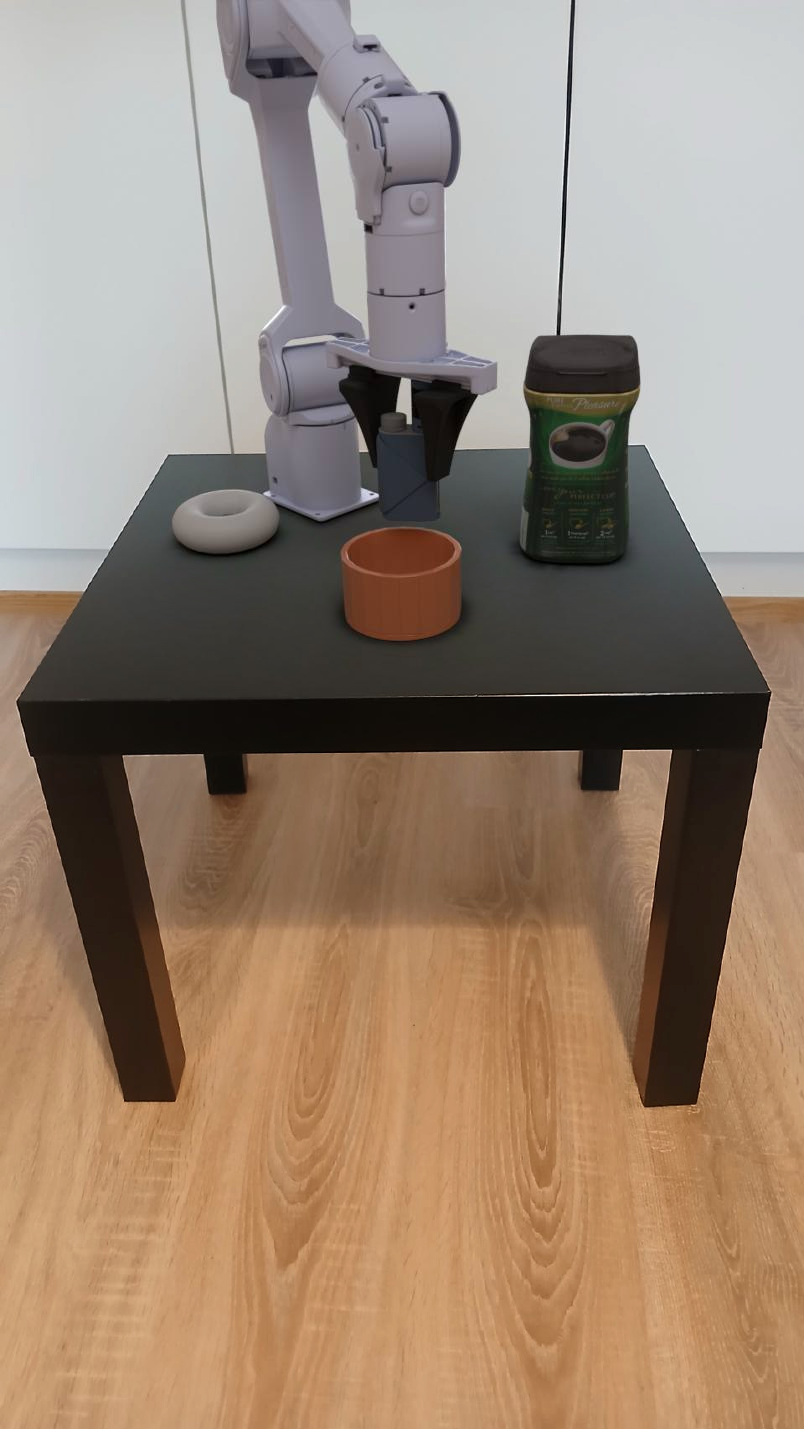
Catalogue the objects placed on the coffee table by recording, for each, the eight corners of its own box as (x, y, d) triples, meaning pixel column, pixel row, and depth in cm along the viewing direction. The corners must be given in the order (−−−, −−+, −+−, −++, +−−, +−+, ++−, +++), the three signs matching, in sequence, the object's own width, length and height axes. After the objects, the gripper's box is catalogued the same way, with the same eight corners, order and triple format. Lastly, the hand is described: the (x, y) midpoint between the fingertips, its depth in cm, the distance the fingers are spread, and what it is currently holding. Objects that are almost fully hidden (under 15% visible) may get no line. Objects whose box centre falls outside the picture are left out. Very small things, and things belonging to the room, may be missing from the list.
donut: (158, 558, 96) (262, 562, 94) (151, 522, 94) (258, 526, 92) (197, 515, 104) (294, 518, 102) (192, 482, 102) (290, 484, 101)
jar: (321, 613, 86) (316, 551, 83) (405, 576, 91) (403, 517, 88) (400, 653, 80) (397, 588, 77) (485, 611, 85) (486, 549, 82)
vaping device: (441, 523, 84) (440, 370, 77) (376, 521, 85) (370, 369, 78) (446, 511, 86) (444, 360, 79) (382, 508, 87) (376, 359, 80)
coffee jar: (625, 532, 98) (644, 324, 87) (628, 569, 91) (649, 348, 81) (520, 529, 99) (527, 323, 89) (515, 565, 92) (522, 347, 82)
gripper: (522, 288, 75) (516, 473, 82) (362, 270, 82) (370, 440, 90) (466, 308, 70) (465, 501, 77) (302, 286, 77) (316, 465, 85)
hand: (411, 471), depth 83 cm, fingers closed on vaping device, 5 cm apart
